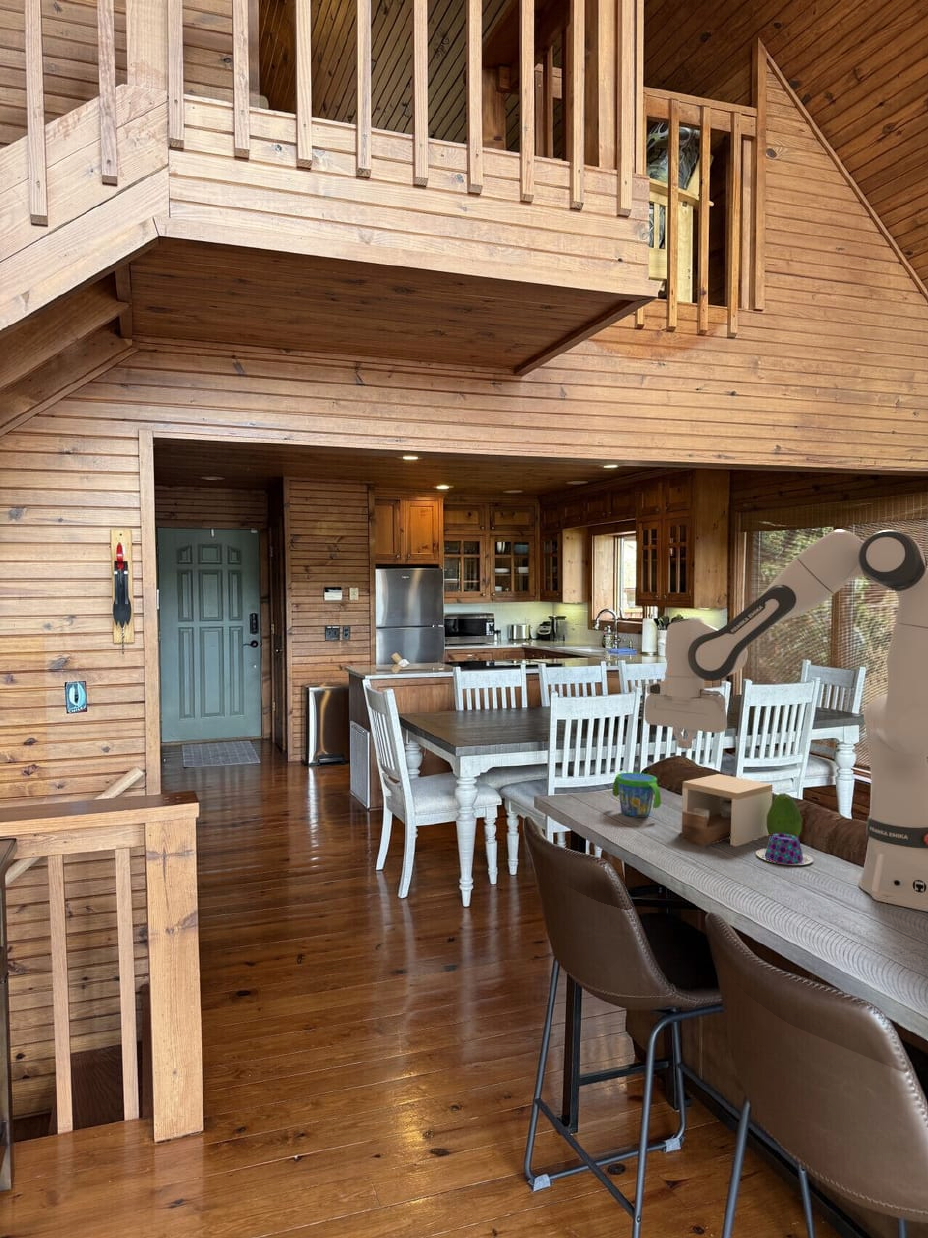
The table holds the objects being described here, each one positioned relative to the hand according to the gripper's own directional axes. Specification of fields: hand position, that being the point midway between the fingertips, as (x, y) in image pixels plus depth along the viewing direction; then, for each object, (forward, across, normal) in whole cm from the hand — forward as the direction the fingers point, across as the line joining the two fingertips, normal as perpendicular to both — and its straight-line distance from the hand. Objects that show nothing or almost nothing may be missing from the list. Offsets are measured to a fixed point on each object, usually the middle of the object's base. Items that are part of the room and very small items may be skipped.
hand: (684, 748), depth 192 cm
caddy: (+23, +1, -14) cm, 27 cm away
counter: (+23, +1, -19) cm, 30 cm away
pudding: (+24, -18, -12) cm, 32 cm away
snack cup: (+23, +26, -16) cm, 38 cm away
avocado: (+24, -12, -22) cm, 35 cm away
